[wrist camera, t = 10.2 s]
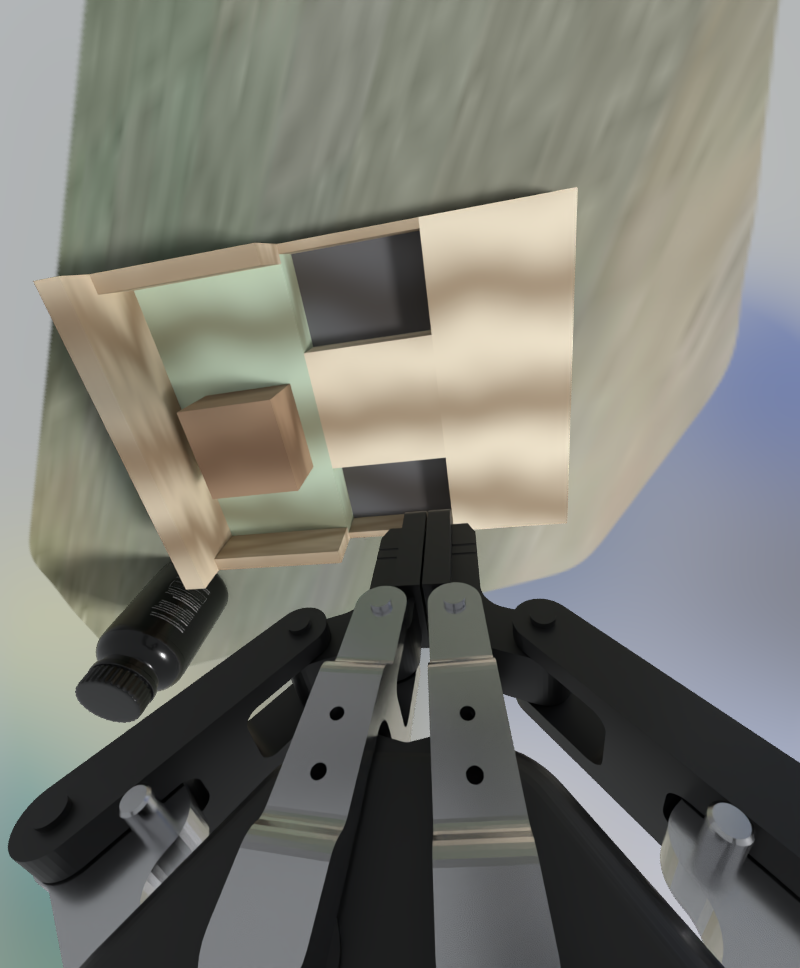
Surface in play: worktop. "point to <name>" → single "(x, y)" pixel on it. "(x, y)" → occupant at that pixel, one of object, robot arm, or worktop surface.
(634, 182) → the worktop surface
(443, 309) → the box
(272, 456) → the walnut block
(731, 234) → the worktop surface
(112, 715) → the supplement bottle
